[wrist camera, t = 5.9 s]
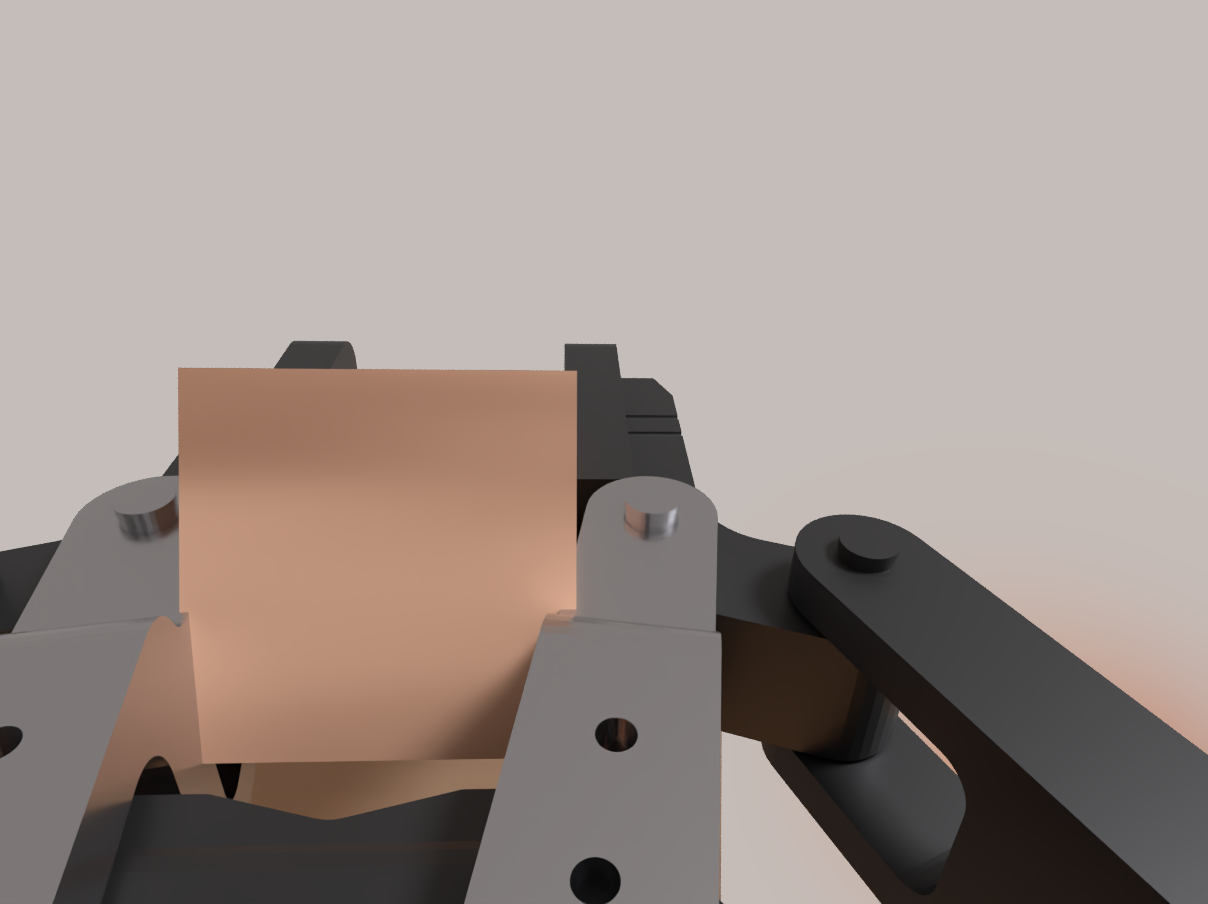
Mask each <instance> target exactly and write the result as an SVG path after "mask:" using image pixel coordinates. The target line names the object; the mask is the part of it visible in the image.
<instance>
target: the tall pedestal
mask: <svg viewBox="0 0 1208 904" xmlns="http://www.w3.org/2000/svg"><path fill="white" fill-rule="evenodd" d="M721 732H722V731H721ZM503 762H504V759H455V760H394V761H334V762H274V763H256V769H255V775H254V782H253V788H252V794H251V800H250V804H254V805H259V806H263V807H267V808H272V809H276V810H281V811H285V812H289V813H294V814H298V815H302V816H307V817H311V818H316V819H323V820H334V819H340V818H345V817H349V816H353V815H357V814H361V813H366V812H370V811H374V810H378V809H382V808H386V807H391V806H395V805H399V804H403V803H407V802H411V801H416V800H420V799H424V798H428V797H432V796H436V795H441V794H445V793H449V792H453V791H457V790H461V789H496V787H497V784H498V780H499V776H500V773H501V769H502V766H503ZM719 900H721V751H720V849H719Z"/></svg>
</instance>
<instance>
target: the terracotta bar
mask: <svg viewBox="0 0 1208 904" xmlns="http://www.w3.org/2000/svg"><path fill="white" fill-rule="evenodd" d="M178 401H179V402H178V403H179V404H178V405H179V406H178V409H179V410H178V411H179V412H178V414H179V612H189V623H190V633H191V644H192V655H193V666H194V677H195V687H196V698H197V709H198V720H199V730H200V741H201V752H202V763H203V764H214V763H274V762H334V761H394V760H455V759H504V758H505V755H506V751H507V748H508V744H509V740H510V737H511V733H512V730H513V726H514V722H515V719H516V715H517V712H518V708H519V704H520V701H521V697H522V694H523V690H524V687H525V683H526V679H527V676H528V672H529V669H530V665H531V661H532V658H533V654H534V651H535V647H536V643H537V640H538V636H539V633H540V629H541V626H542V623H543V621H544V618H545V616H546V615H547V614H548V613H553V614H559V611H560V610H566V609H576V538H577V371H530V370H527V371H526V370H525V371H524V370H519V371H518V370H395V369H387V370H386V369H261V368H260V369H259V368H255V369H253V368H178Z"/></svg>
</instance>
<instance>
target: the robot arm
mask: <svg viewBox="0 0 1208 904" xmlns="http://www.w3.org/2000/svg"><path fill="white" fill-rule="evenodd" d="M274 369H357V365H356V358H355V354H354V350H353V347H352V345H351V344H350V343H349V342H346V341H293V342H292V343H291V344H290V345H289V347H288V348H287V350H286V351H285V352H284V354H283V355H282V357H281V358H280V360H279V361H278V363H277V364H276V366H275V367H274ZM565 371H577V538H576V609H566V610H560V611H559V614H553V613H548V614H547V615H546V616H545V618H544V621H543V623H542V626H541V629H540V633H539V636H538V640H537V643H536V647H535V651H534V654H533V658H532V661H531V665H530V669H529V672H528V676H527V679H526V683H525V687H524V690H523V694H522V697H521V701H520V704H519V708H518V712H517V715H516V719H515V722H514V726H513V730H512V733H511V737H510V740H509V744H508V748H507V751H506V755H505V758H504V762H503V766H502V769H501V773H500V776H499V780H498V784H497V787H496V789H461V790H457V791H453V792H449V793H445V794H441V795H436V796H432V797H428V798H424V799H420V800H416V801H411V802H407V803H403V804H399V805H395V806H391V807H386V808H382V809H378V810H374V811H370V812H366V813H361V814H357V815H353V816H349V817H345V818H340V819H334V820H323V819H316V818H311V817H307V816H302V815H298V814H294V813H289V812H285V811H281V810H276V809H272V808H267V807H263V806H259V805H254V804H250V800H251V794H252V788H253V782H254V775H255V769H256V763H214V764H203V763H202V752H201V741H200V730H199V720H198V709H197V698H196V687H195V677H194V666H193V655H192V644H191V633H190V623H189V612H179V454H178V456H177V457H176V459H175V460H174V461H173V462H172V464H171V465H170V466H169V468H168V469H167V471H166V472H165V473H164V474H163V476H161V477H153V478H147V479H143V480H138V481H135V482H131V483H127V484H125V485H122V486H119V487H116V488H114V489H112V490H110V491H108V492H105V493H103V494H102V495H100V496H99V497H97V498H95V499H93V500H92V501H91V502H89V503H88V504H87V505H85V506H84V507H83V508H82V509H81V510H80V511H79V512H78V514H77V515H76V516H75V518H74V519H73V521H72V523H71V525H70V527H69V529H68V530H67V532H66V534H65V536H64V538H63V540H60V541H56V542H50V543H44V544H39V545H34V546H28V547H23V548H17V549H12V550H7V551H1V552H0V904H723V903H722V902H721V901H720V900H719V849H720V751H721V731H723V732H727V733H731V734H734V735H738V736H742V737H746V738H749V739H753V740H757V741H761V742H762V747H763V750H764V752H765V755H766V757H767V759H768V760H769V761H770V763H771V765H772V766H773V767H774V769H775V770H776V771H777V772H778V774H779V775H780V776H781V778H782V779H783V780H784V781H785V783H786V784H787V785H788V786H789V788H790V789H791V790H792V791H793V793H794V794H795V795H796V796H797V798H798V799H799V800H800V802H801V803H802V804H803V805H804V807H805V808H806V809H807V810H808V812H809V813H810V814H811V815H812V817H813V818H814V819H815V820H816V822H817V823H818V824H819V825H820V827H821V828H822V829H823V831H824V832H825V833H826V834H827V835H828V837H829V838H830V839H831V840H832V842H833V843H834V844H835V846H836V847H837V848H838V849H839V851H840V852H841V853H842V854H843V856H844V857H845V858H846V859H847V861H848V862H849V863H850V865H851V866H852V867H853V868H854V870H855V871H856V872H857V873H858V875H859V876H860V877H861V878H862V880H863V881H864V882H865V884H866V885H867V886H868V887H869V888H870V890H871V891H872V892H873V893H874V895H875V896H876V897H877V899H878V900H879V901H880V902H881V904H1208V755H1207V754H1206V753H1204V752H1203V751H1202V750H1201V749H1199V748H1198V747H1197V746H1195V745H1194V744H1193V743H1191V742H1190V741H1189V740H1187V739H1186V738H1184V737H1183V736H1182V735H1181V734H1179V733H1178V732H1177V731H1175V730H1174V729H1173V728H1171V727H1170V726H1169V725H1167V724H1166V723H1164V722H1163V721H1162V720H1161V719H1159V718H1158V717H1157V716H1155V715H1154V714H1153V713H1151V712H1150V711H1148V710H1147V709H1146V708H1145V707H1143V706H1142V705H1141V704H1139V703H1138V702H1137V701H1135V700H1134V699H1133V698H1131V697H1130V696H1129V695H1127V694H1126V693H1124V692H1123V691H1122V690H1121V689H1119V688H1118V687H1117V686H1115V685H1114V684H1113V683H1111V682H1110V681H1109V680H1107V679H1106V678H1105V677H1103V676H1102V675H1101V674H1099V673H1098V672H1097V671H1095V670H1094V669H1093V668H1091V667H1090V666H1089V665H1087V664H1086V663H1085V662H1083V661H1082V660H1081V659H1079V658H1078V657H1077V656H1075V655H1074V654H1073V653H1071V652H1070V651H1069V650H1067V649H1066V648H1064V647H1063V646H1062V645H1061V644H1059V643H1058V642H1057V641H1055V640H1054V639H1053V638H1051V637H1050V636H1049V635H1047V634H1046V633H1045V632H1043V631H1042V630H1041V629H1039V628H1038V627H1036V626H1035V625H1034V624H1032V623H1031V622H1030V621H1028V620H1027V619H1026V618H1025V617H1023V616H1022V615H1021V614H1019V613H1018V612H1017V611H1015V610H1014V609H1013V608H1011V607H1010V606H1009V605H1007V604H1006V603H1005V602H1003V601H1002V600H1001V599H999V598H998V597H997V596H995V595H994V594H993V593H991V592H990V591H989V590H987V589H986V588H985V587H983V586H982V585H980V584H979V583H978V582H977V581H975V580H974V579H973V578H971V577H970V576H969V575H967V574H966V573H965V572H963V571H962V570H961V569H959V568H958V567H957V566H955V565H954V564H953V563H951V562H950V561H949V560H947V559H946V558H945V557H943V556H942V555H941V554H939V553H938V552H937V551H935V550H934V549H933V548H931V547H930V546H929V545H927V544H926V543H925V542H924V541H922V540H921V539H920V538H918V537H917V536H915V535H914V534H912V533H911V532H909V531H907V530H905V529H903V528H901V527H899V526H897V525H895V524H892V523H889V522H887V521H884V520H880V519H877V518H872V517H867V516H860V515H833V516H827V517H823V518H820V519H817V520H814V521H812V522H810V523H809V524H807V525H806V526H805V527H804V528H803V529H802V530H801V531H800V532H799V534H798V536H797V538H796V542H795V547H793V546H788V545H783V544H778V543H773V542H769V541H763V540H759V539H755V538H751V537H748V536H745V535H742V534H739V533H737V532H734V531H732V530H730V529H728V528H726V527H725V526H723V525H721V524H720V523H718V517H717V510H716V508H715V506H714V505H713V503H712V501H711V500H710V499H709V498H708V497H707V496H706V495H705V494H704V493H702V492H701V491H699V490H698V489H696V488H695V485H694V481H693V477H692V473H691V469H690V465H689V461H688V457H687V453H686V449H685V445H684V440H683V436H681V428H680V424H679V420H678V419H677V412H676V408H675V404H674V400H673V396H672V395H671V394H670V393H669V392H668V391H667V390H666V389H664V388H663V387H662V386H661V385H660V384H659V383H658V382H657V381H656V380H654V379H653V378H621V376H620V369H619V362H618V354H617V347H616V344H565ZM899 711H900V712H902V713H903V714H904V715H905V716H906V717H907V718H908V719H909V720H910V721H911V722H912V723H913V724H914V725H915V726H916V727H917V728H918V729H919V730H920V731H921V732H922V733H923V734H924V735H925V736H926V737H927V738H928V739H929V740H930V741H931V742H932V743H933V744H934V745H935V746H936V747H937V748H938V749H939V750H940V751H941V752H942V753H943V754H944V755H945V756H946V758H947V759H948V760H949V761H950V763H951V764H952V766H953V767H954V769H955V770H956V772H957V774H958V776H957V775H956V774H955V773H954V772H953V771H952V770H951V769H950V768H949V767H948V766H947V765H946V764H945V763H944V762H943V761H942V760H941V759H940V758H939V757H938V756H937V755H936V754H935V753H934V752H933V751H932V750H931V749H930V748H929V747H928V746H927V745H926V744H925V743H924V742H923V741H922V740H921V739H920V738H919V737H918V736H917V735H916V734H915V733H914V732H913V731H912V730H911V729H910V728H909V727H908V726H907V725H906V724H905V723H904V722H903V721H902V720H901V719H900V718H899V717H898V713H899Z"/></svg>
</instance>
